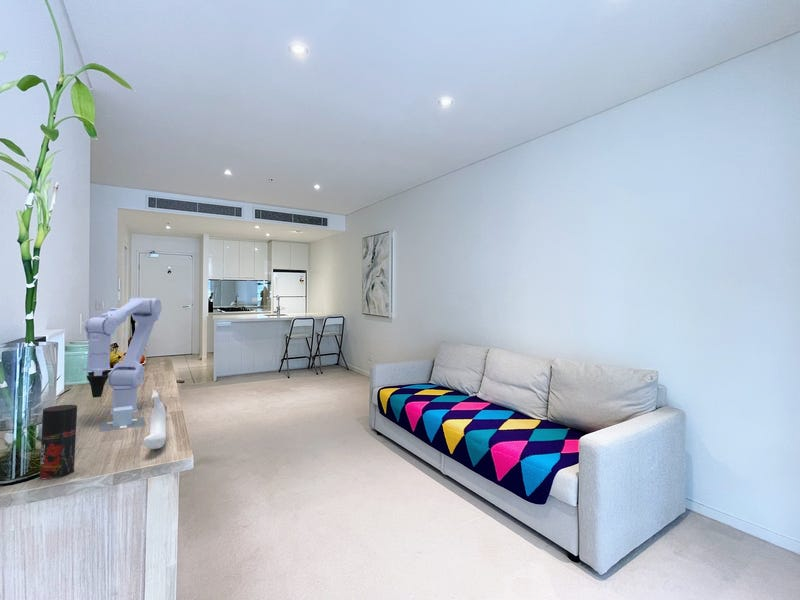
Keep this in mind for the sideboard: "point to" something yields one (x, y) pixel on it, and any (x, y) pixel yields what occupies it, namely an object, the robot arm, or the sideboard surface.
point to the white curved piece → (156, 425)
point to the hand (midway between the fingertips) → (97, 394)
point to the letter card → (109, 426)
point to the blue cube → (122, 416)
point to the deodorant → (58, 441)
